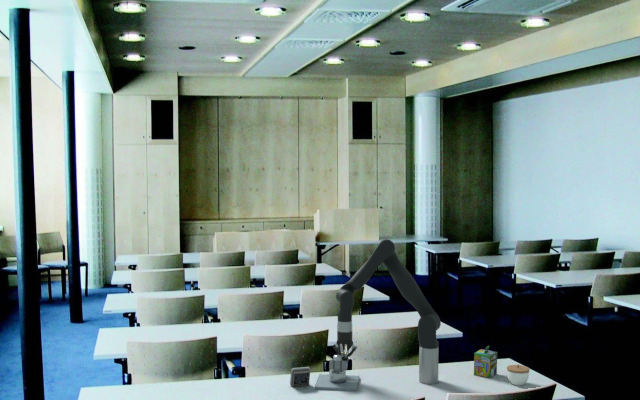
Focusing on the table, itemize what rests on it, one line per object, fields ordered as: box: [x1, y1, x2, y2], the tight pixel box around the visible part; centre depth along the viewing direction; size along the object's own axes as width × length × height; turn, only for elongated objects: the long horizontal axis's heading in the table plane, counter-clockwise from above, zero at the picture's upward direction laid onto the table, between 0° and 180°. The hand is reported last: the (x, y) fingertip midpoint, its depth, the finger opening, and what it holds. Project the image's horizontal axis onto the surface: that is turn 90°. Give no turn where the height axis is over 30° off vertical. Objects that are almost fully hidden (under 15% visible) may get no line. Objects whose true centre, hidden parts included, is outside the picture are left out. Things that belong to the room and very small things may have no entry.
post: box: [328, 354, 347, 384], centre depth 347 cm, size 8×8×12 cm
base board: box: [314, 358, 360, 392], centre depth 347 cm, size 20×20×10 cm
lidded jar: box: [506, 364, 530, 387], centre depth 348 cm, size 11×11×9 cm
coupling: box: [328, 359, 348, 370], centre depth 350 cm, size 16×8×4 cm, turn 174°
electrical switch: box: [289, 366, 311, 388], centre depth 343 cm, size 9×5×9 cm, turn 107°
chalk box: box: [473, 345, 498, 379], centre depth 362 cm, size 9×9×15 cm
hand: (344, 364), depth 355 cm, fingers closed
